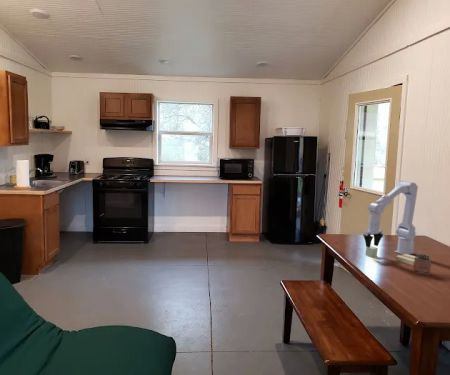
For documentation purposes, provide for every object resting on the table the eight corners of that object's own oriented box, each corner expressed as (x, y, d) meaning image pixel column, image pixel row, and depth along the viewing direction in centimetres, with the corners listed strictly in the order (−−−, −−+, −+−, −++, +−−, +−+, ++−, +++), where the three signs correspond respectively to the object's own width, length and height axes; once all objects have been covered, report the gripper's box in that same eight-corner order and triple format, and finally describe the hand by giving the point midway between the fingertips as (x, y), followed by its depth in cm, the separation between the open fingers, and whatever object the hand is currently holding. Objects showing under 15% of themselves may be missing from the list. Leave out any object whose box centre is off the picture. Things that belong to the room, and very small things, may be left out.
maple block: (405, 258, 227) (406, 253, 227) (422, 263, 219) (422, 258, 218) (395, 261, 221) (396, 256, 221) (412, 266, 213) (413, 261, 213)
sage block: (370, 254, 231) (371, 246, 230) (376, 256, 227) (377, 248, 227) (365, 255, 228) (366, 246, 228) (372, 257, 225) (372, 249, 224)
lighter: (429, 272, 202) (431, 254, 201) (430, 275, 199) (432, 256, 198) (412, 270, 205) (414, 252, 203) (413, 272, 202) (415, 253, 200)
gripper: (376, 221, 233) (373, 243, 234) (360, 223, 225) (358, 245, 226) (386, 223, 227) (384, 246, 229) (371, 225, 219) (368, 249, 221)
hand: (371, 246), depth 227 cm, fingers open, 7 cm apart
